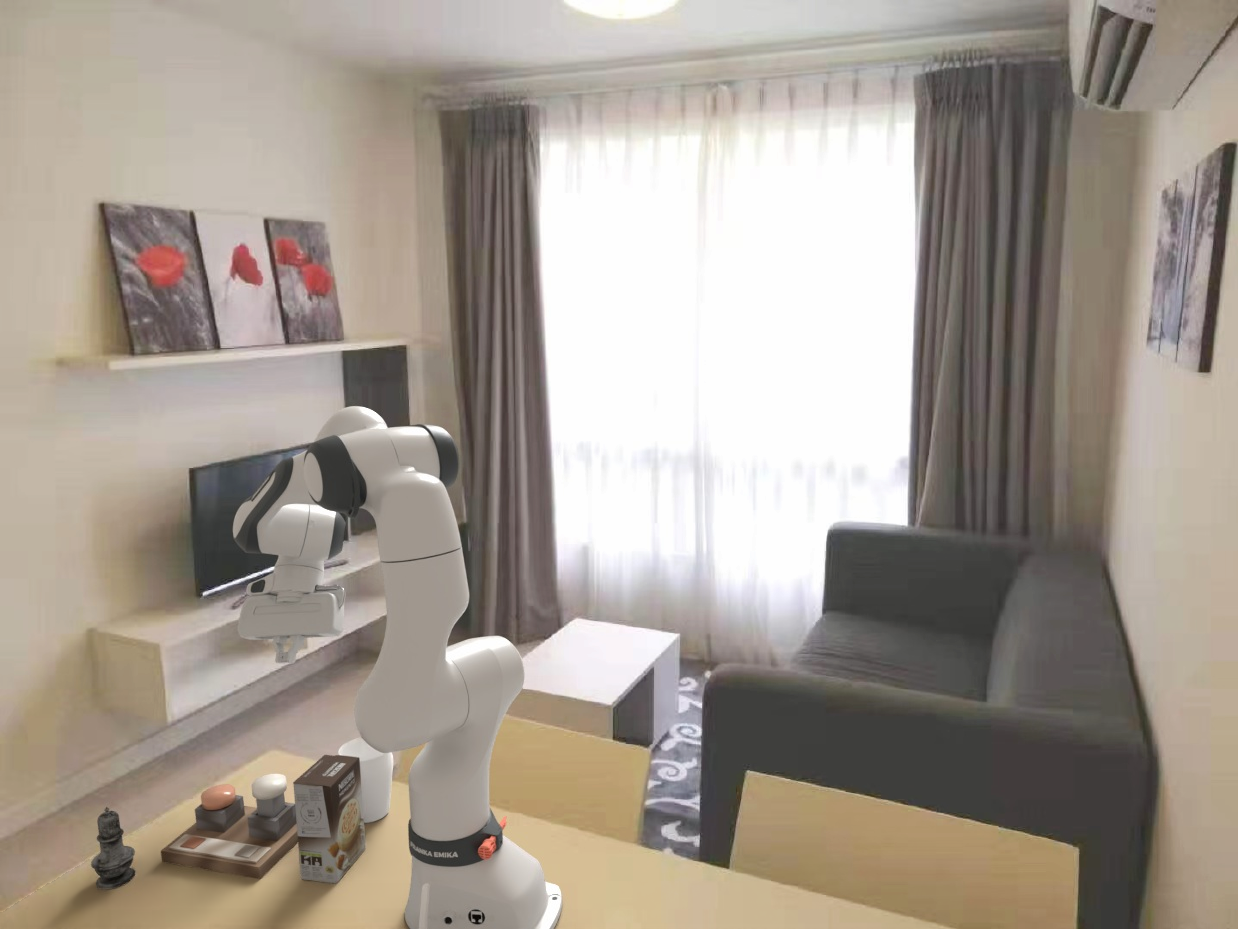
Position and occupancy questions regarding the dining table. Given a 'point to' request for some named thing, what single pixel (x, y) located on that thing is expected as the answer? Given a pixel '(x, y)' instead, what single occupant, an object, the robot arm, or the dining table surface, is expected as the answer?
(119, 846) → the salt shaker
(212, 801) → the terracotta button
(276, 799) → the white button
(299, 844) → the coffee box
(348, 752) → the cup
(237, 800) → the pattern board
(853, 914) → the dining table surface
